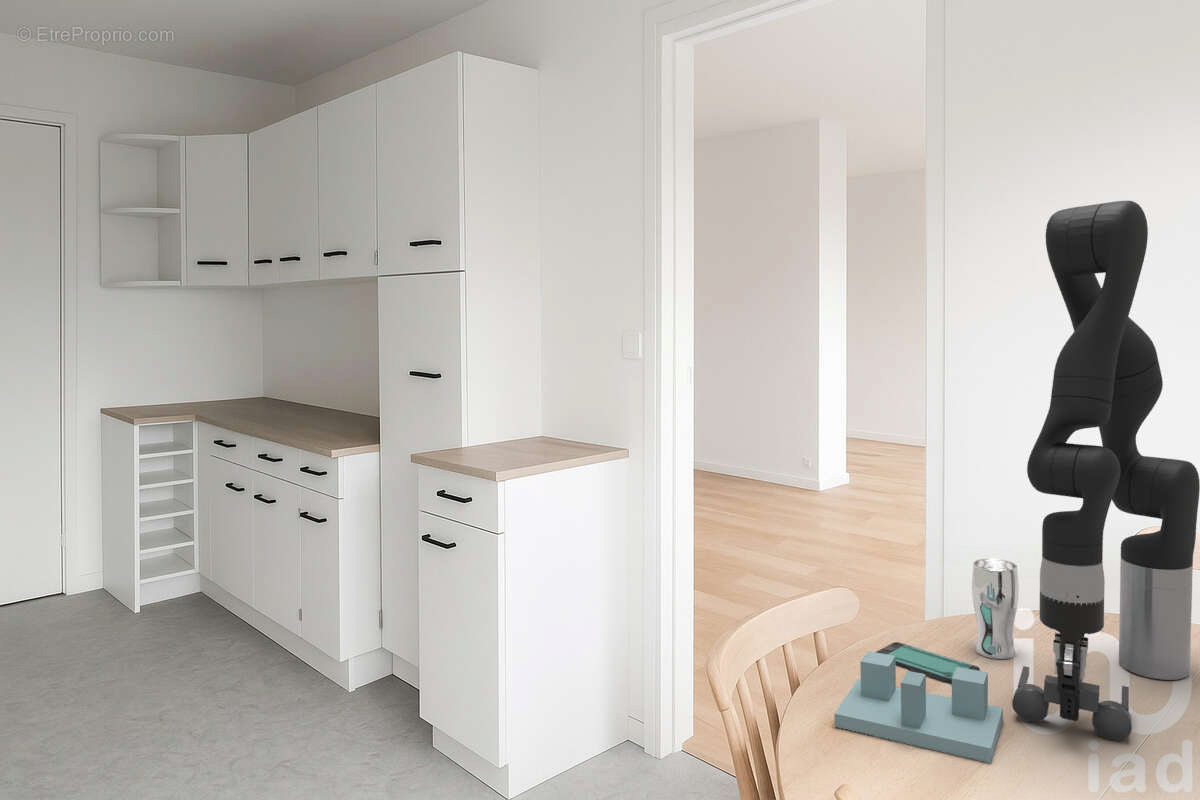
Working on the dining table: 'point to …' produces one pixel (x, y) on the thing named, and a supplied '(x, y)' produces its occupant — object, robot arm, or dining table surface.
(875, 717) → the stand
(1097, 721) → the glasses
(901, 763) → the dining table surface
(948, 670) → the smartphone
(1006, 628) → the beer glass
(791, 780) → the dining table surface
